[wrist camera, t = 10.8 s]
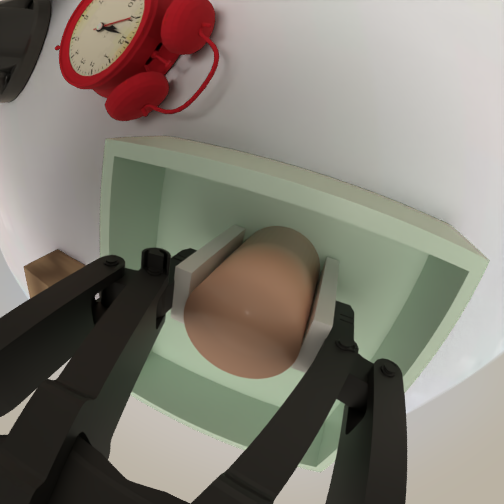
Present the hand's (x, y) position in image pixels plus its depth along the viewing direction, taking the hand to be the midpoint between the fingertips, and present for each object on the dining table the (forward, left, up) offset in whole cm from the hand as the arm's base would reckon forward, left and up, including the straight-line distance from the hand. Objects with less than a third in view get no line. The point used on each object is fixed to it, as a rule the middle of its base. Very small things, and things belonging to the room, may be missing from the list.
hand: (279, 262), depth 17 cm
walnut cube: (-20, -10, -1) cm, 23 cm away
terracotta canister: (0, 0, 0) cm, 0 cm away
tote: (0, -4, -1) cm, 4 cm away
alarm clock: (-13, +12, -1) cm, 18 cm away
